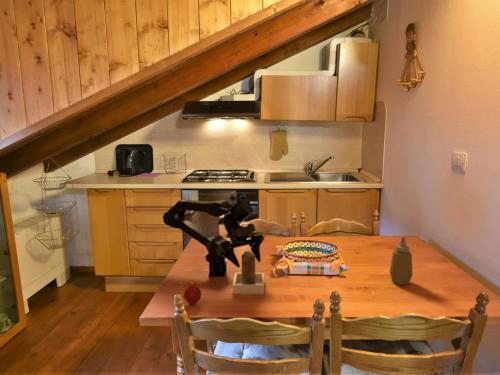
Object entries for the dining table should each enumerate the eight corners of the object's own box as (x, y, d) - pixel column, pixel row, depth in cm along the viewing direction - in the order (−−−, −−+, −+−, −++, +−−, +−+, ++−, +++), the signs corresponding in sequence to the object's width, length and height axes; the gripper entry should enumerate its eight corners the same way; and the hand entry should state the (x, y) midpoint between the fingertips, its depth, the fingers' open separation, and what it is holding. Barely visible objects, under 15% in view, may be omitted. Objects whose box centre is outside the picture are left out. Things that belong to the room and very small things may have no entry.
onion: (185, 300, 129) (184, 279, 127) (201, 299, 129) (201, 278, 128) (183, 309, 123) (182, 286, 121) (201, 308, 123) (200, 285, 122)
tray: (232, 294, 133) (232, 285, 132) (235, 281, 144) (235, 272, 143) (263, 294, 132) (263, 285, 132) (264, 281, 143) (264, 272, 143)
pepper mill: (241, 288, 136) (241, 255, 133) (242, 283, 141) (241, 250, 138) (255, 289, 136) (255, 255, 133) (255, 283, 140) (255, 250, 138)
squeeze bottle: (411, 279, 144) (414, 234, 141) (412, 288, 136) (416, 241, 133) (388, 276, 146) (391, 233, 143) (389, 285, 139) (392, 239, 136)
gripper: (219, 221, 132) (236, 259, 125) (261, 213, 142) (279, 248, 135) (209, 236, 140) (224, 274, 133) (250, 228, 150) (266, 262, 143)
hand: (249, 264), depth 136 cm, fingers open, 9 cm apart
